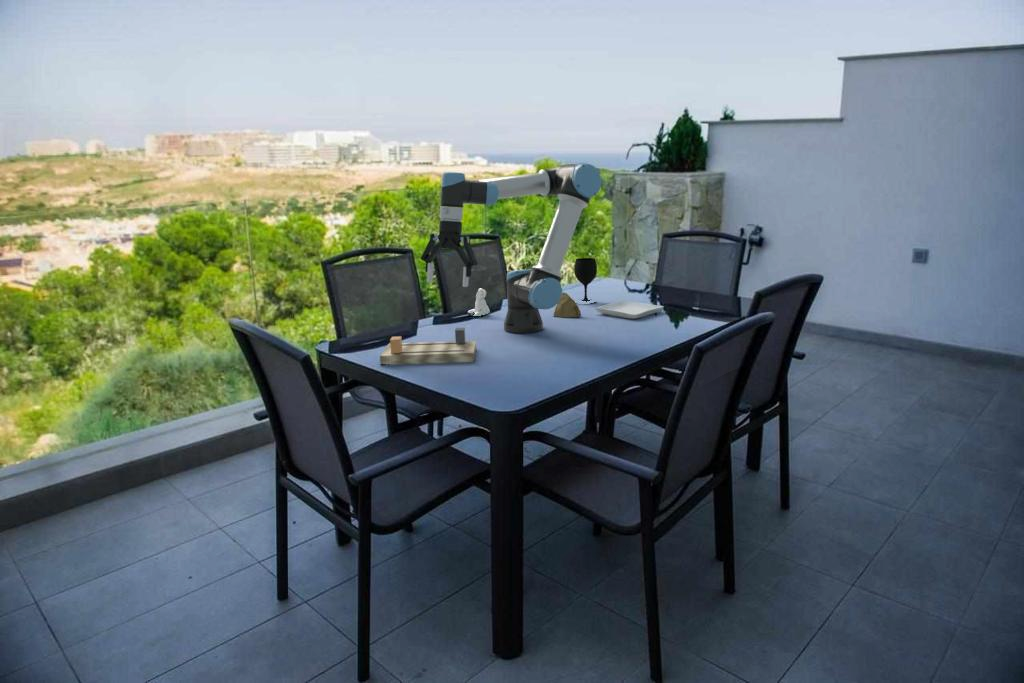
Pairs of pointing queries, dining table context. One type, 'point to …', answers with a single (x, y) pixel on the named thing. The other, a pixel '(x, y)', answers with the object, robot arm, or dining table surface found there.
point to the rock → (567, 307)
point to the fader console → (430, 353)
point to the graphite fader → (460, 335)
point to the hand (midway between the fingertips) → (447, 284)
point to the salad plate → (628, 309)
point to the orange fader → (396, 344)
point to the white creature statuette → (480, 304)
